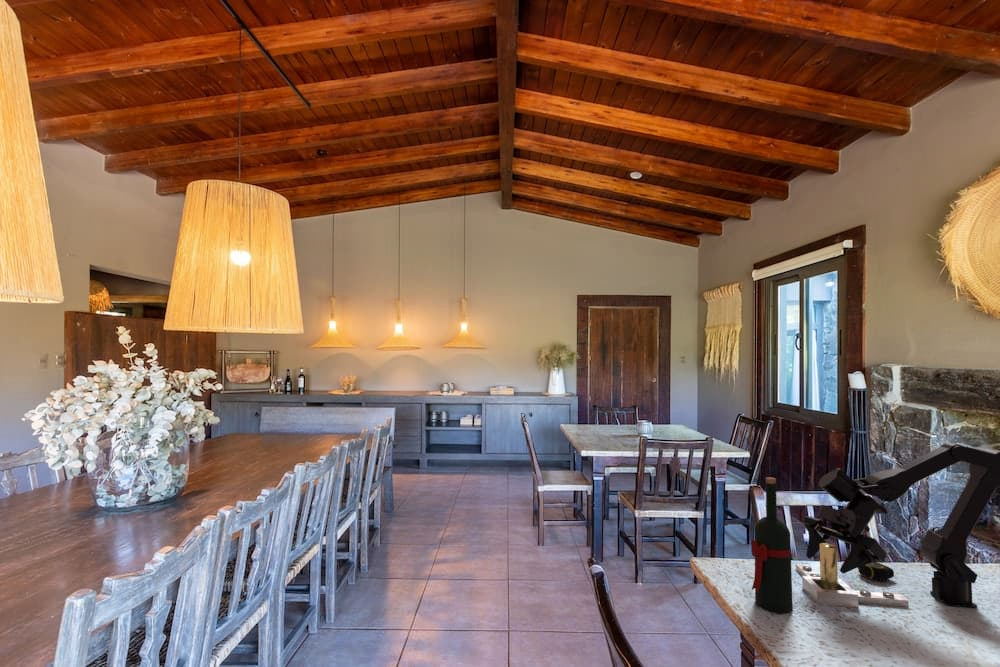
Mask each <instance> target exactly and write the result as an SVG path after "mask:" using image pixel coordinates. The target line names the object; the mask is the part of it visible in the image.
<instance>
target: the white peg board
mask: <svg viewBox="0 0 1000 667" xmlns="http://www.w3.org/2000/svg"><path fill="white" fill-rule="evenodd" d="M795 570H796V571H797V572H798V573H799V574H800V575H801V580H802V582H801V584H802V585H801V586H802V588H803V590H804V591H805V592H806V593H807V595H808V596H810V598H811V599H812V600H813V601H814V602H815V603H816V604H817V605H824V606H835V607H844V608H845V607H846V608H856V609H857V608H859V603H860V604H868V605H869V604H870V605H882V606H883V605H884V606H890V607H891V606H894V607H905V608H909V607H910V606H909V605H910V604H909V600H908V599H907V598H906V597H905V596H904V595H902V594H900V593H892V592H888V591H882V592H879V591H878V592H877V591H870V590H865V589H859V590H853V589H852V588H851V586H849V585H848V584H847V583H846V582H844V581H843V580H842V579H841V578H838V590H828V589H821V583H820V575H819V573H818V572H817V571H816V570H814V568H812V567H811V566H810V565H809V564H804V563H801V564H800V563H795Z"/></svg>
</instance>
